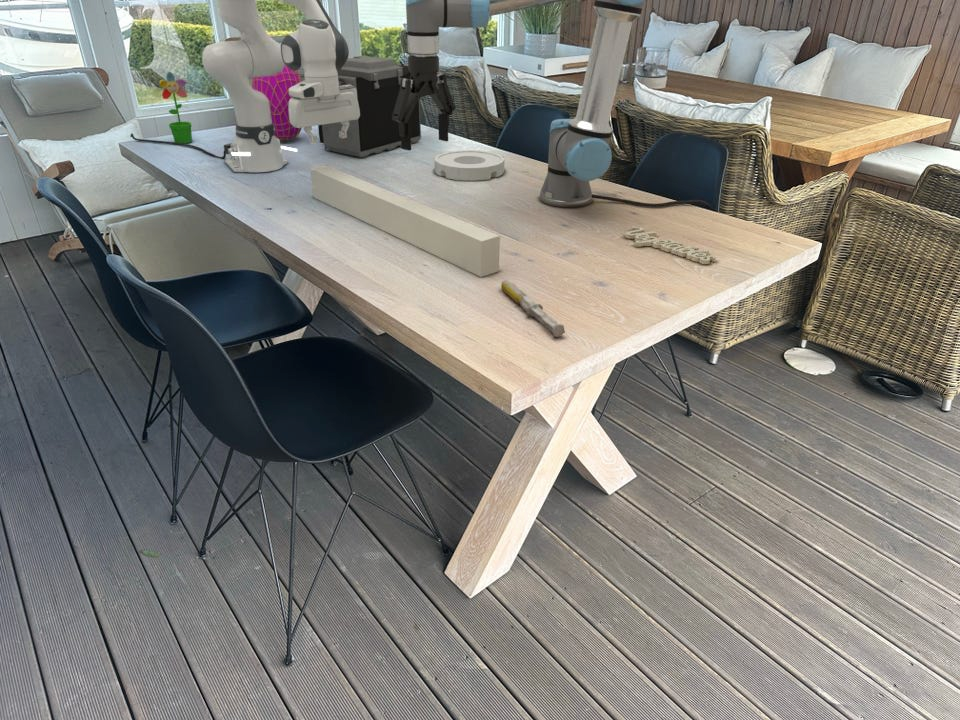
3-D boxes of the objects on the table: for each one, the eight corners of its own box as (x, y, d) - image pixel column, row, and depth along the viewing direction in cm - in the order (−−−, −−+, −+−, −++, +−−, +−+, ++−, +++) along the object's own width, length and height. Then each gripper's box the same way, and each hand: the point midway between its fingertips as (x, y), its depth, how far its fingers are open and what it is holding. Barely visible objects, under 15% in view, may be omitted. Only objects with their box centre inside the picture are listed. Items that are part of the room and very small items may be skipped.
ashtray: (437, 161, 240) (437, 149, 238) (504, 162, 239) (504, 150, 237) (431, 179, 220) (431, 167, 218) (504, 181, 219) (504, 168, 217)
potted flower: (172, 145, 255) (157, 73, 243) (170, 140, 261) (154, 70, 249) (199, 142, 259) (185, 71, 247) (196, 138, 265) (182, 68, 253)
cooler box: (383, 133, 276) (378, 52, 261) (425, 141, 265) (422, 56, 250) (314, 150, 251) (304, 61, 235) (358, 160, 240) (350, 67, 224)
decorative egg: (293, 132, 276) (283, 50, 261) (319, 140, 264) (310, 56, 249) (249, 139, 265) (236, 54, 250) (273, 148, 253) (261, 60, 238)
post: (499, 271, 157) (500, 235, 153) (481, 277, 154) (481, 241, 150) (329, 193, 206) (326, 165, 202) (313, 197, 203) (310, 168, 199)
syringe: (497, 287, 149) (497, 275, 147) (512, 284, 150) (513, 273, 149) (547, 340, 129) (548, 327, 128) (565, 336, 130) (566, 324, 129)
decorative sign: (611, 234, 176) (635, 225, 181) (610, 237, 176) (634, 229, 182) (700, 264, 159) (723, 254, 164) (699, 268, 159) (723, 257, 165)
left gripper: (349, 82, 192) (354, 133, 199) (282, 89, 181) (290, 143, 187) (361, 84, 188) (366, 136, 195) (294, 92, 176) (301, 147, 183)
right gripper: (447, 49, 175) (447, 134, 186) (373, 57, 159) (379, 150, 170) (469, 52, 171) (468, 139, 182) (396, 60, 155) (400, 155, 165)
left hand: (328, 140), depth 191 cm, fingers open, 8 cm apart
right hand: (425, 144), depth 176 cm, fingers open, 13 cm apart
